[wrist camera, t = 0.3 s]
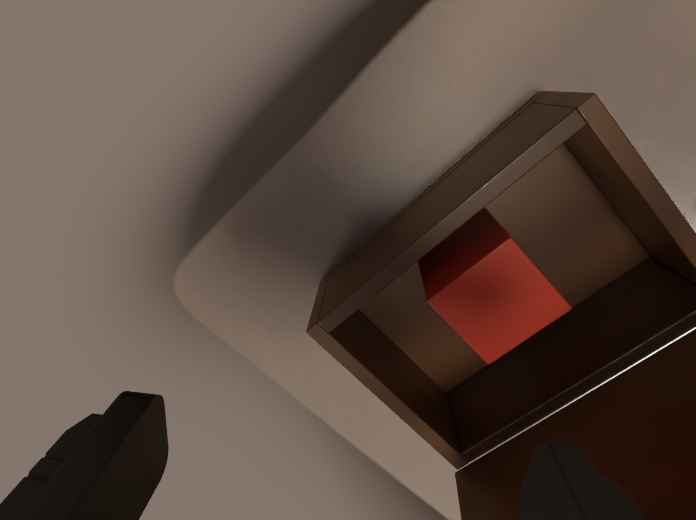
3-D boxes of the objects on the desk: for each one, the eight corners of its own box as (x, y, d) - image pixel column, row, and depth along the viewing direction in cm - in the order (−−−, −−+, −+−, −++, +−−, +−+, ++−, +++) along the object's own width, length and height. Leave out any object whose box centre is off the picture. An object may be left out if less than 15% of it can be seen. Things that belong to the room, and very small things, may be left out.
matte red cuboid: (414, 251, 24) (426, 301, 19) (478, 199, 23) (511, 236, 17) (464, 304, 25) (488, 366, 20) (527, 256, 24) (573, 308, 18)
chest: (320, 281, 26) (305, 332, 21) (540, 90, 21) (595, 92, 16) (442, 398, 29) (457, 470, 24) (662, 251, 24) (743, 299, 19)
